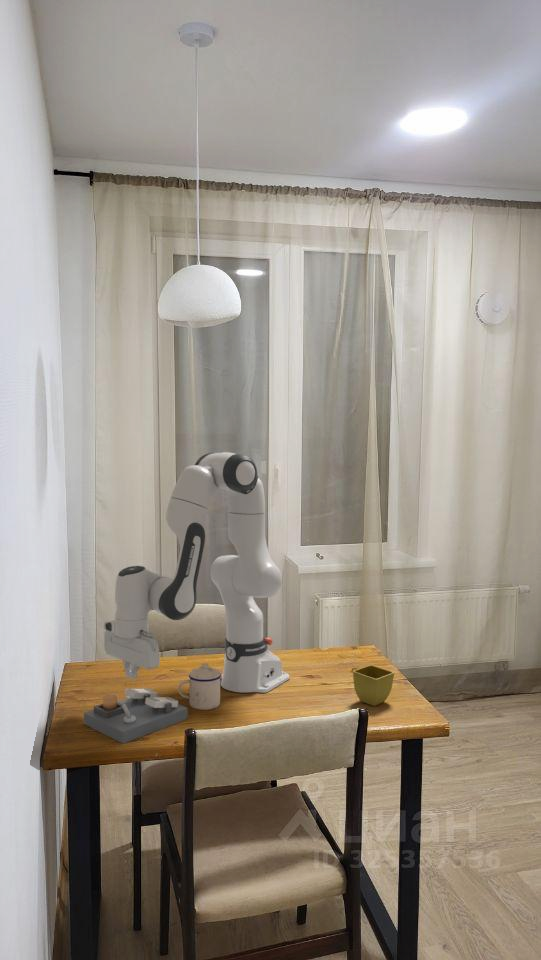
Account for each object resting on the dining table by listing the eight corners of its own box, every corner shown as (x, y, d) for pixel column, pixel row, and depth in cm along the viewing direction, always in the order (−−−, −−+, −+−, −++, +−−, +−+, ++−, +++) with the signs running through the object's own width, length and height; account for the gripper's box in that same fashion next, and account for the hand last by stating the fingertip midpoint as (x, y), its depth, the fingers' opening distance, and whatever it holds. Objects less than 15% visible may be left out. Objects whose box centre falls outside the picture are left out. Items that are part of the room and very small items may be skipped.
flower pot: (394, 702, 209) (395, 671, 208) (375, 710, 203) (376, 679, 202) (370, 694, 215) (370, 664, 215) (351, 701, 209) (351, 671, 209)
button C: (111, 702, 194) (111, 693, 194) (119, 706, 192) (119, 697, 191) (100, 706, 191) (100, 697, 191) (108, 710, 189) (108, 701, 189)
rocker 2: (167, 703, 198) (168, 696, 198) (177, 707, 195) (178, 700, 195) (144, 703, 192) (146, 696, 192) (154, 707, 189) (155, 701, 189)
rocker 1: (146, 694, 204) (148, 688, 204) (155, 698, 201) (157, 692, 201) (124, 694, 198) (125, 688, 198) (133, 698, 195) (134, 692, 195)
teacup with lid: (217, 697, 211) (218, 657, 210) (223, 709, 202) (224, 668, 202) (176, 700, 208) (176, 660, 207) (180, 712, 199) (180, 671, 199)
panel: (145, 701, 207) (145, 673, 207) (187, 718, 195) (187, 689, 195) (81, 722, 192) (81, 692, 191) (123, 743, 180) (123, 711, 179)
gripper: (165, 632, 191) (165, 684, 192) (118, 617, 205) (118, 665, 206) (146, 637, 187) (146, 690, 188) (99, 622, 200) (99, 671, 201)
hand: (131, 677), depth 197 cm, fingers closed
